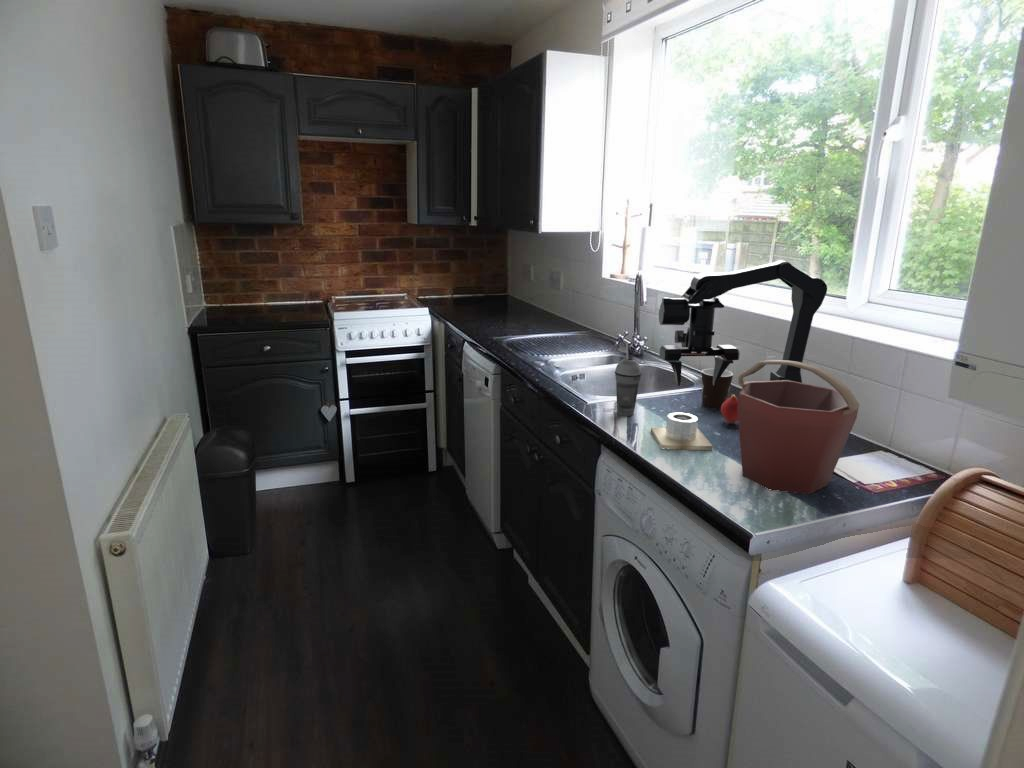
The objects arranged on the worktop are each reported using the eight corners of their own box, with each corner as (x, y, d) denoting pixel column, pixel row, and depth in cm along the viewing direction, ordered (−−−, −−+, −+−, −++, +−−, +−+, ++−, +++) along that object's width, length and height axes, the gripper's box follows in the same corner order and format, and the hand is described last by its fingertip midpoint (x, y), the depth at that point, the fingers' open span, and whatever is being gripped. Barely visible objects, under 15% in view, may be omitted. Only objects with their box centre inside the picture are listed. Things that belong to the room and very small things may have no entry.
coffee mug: (723, 412, 175) (727, 378, 172) (693, 406, 180) (697, 373, 177) (736, 402, 183) (740, 370, 181) (708, 397, 188) (711, 365, 186)
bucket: (705, 462, 141) (717, 354, 134) (778, 448, 149) (793, 347, 142) (791, 510, 119) (811, 385, 112) (870, 491, 128) (894, 374, 121)
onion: (741, 421, 168) (745, 392, 166) (743, 428, 163) (746, 399, 160) (718, 418, 170) (722, 390, 167) (719, 425, 164) (723, 396, 162)
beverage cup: (626, 419, 168) (632, 347, 162) (606, 412, 173) (611, 342, 167) (644, 414, 172) (649, 343, 167) (623, 407, 178) (628, 338, 172)
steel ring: (699, 441, 150) (701, 422, 149) (670, 441, 150) (671, 421, 148) (690, 431, 157) (692, 412, 155) (663, 431, 157) (664, 412, 155)
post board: (697, 431, 159) (699, 409, 158) (712, 449, 148) (714, 426, 146) (650, 431, 159) (652, 409, 158) (661, 449, 148) (663, 425, 146)
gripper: (726, 319, 162) (720, 376, 167) (655, 319, 162) (652, 377, 166) (743, 327, 152) (736, 388, 156) (667, 327, 151) (663, 389, 156)
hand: (696, 385), depth 159 cm, fingers open, 9 cm apart
